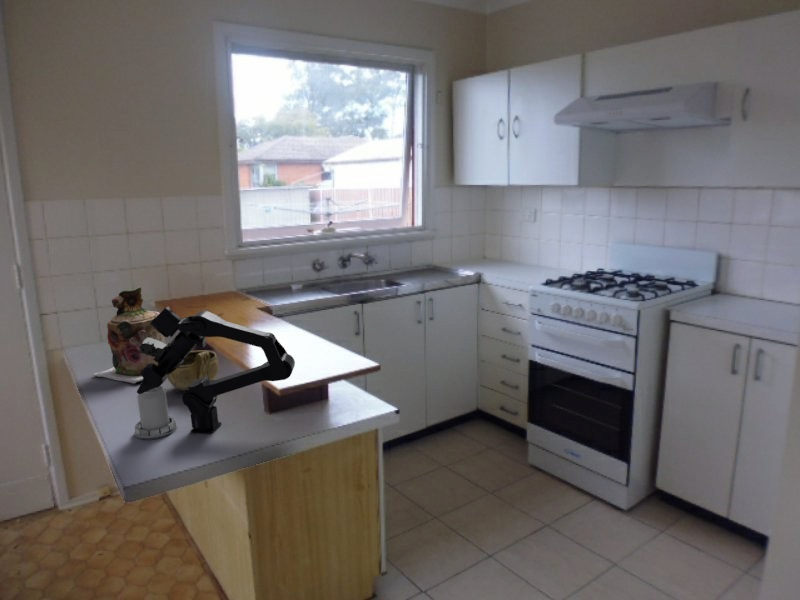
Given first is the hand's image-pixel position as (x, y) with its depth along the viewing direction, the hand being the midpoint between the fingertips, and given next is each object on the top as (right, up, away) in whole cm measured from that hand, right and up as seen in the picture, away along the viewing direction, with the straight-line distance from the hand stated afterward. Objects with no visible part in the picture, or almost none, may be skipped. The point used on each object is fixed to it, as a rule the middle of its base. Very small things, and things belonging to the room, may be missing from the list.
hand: (144, 387), depth 169 cm
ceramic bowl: (+2, -6, +36) cm, 36 cm away
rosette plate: (+2, -13, +3) cm, 14 cm away
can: (+2, -12, +3) cm, 13 cm away
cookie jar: (-25, -2, +56) cm, 61 cm away
